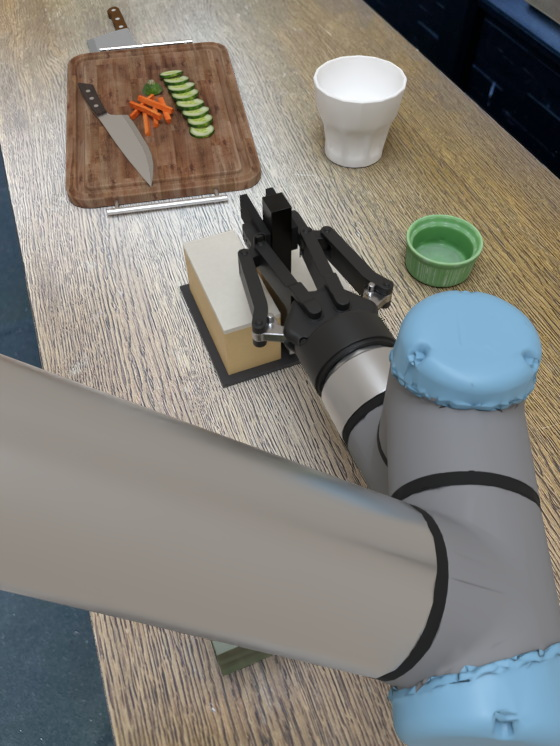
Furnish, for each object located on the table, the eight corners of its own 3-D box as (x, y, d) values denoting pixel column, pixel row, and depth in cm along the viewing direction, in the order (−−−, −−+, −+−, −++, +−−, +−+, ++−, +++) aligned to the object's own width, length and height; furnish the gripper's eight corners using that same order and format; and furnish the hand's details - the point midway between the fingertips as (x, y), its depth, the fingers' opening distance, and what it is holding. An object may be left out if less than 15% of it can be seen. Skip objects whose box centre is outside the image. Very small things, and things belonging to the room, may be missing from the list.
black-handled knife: (301, 351, 70) (304, 225, 56) (283, 357, 69) (283, 231, 56) (273, 301, 74) (270, 174, 61) (257, 306, 74) (250, 179, 60)
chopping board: (268, 198, 88) (267, 179, 86) (67, 223, 85) (61, 203, 83) (223, 41, 115) (222, 23, 113) (69, 55, 112) (64, 37, 110)
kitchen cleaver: (75, 14, 121) (128, 3, 123) (77, 20, 122) (129, 8, 124) (99, 77, 107) (157, 63, 109) (101, 83, 108) (159, 69, 110)
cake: (359, 344, 72) (366, 295, 66) (223, 388, 68) (217, 341, 62) (302, 254, 81) (303, 204, 75) (179, 289, 78) (170, 239, 72)
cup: (392, 127, 98) (403, 55, 90) (399, 177, 91) (411, 102, 82) (310, 127, 99) (313, 54, 90) (310, 176, 91) (313, 101, 82)
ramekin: (418, 298, 76) (424, 270, 73) (390, 249, 82) (394, 221, 78) (487, 283, 78) (497, 255, 74) (455, 236, 83) (463, 208, 80)
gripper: (273, 431, 52) (188, 250, 66) (436, 375, 56) (323, 214, 69) (271, 374, 46) (178, 188, 60) (454, 316, 50) (327, 152, 63)
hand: (256, 202), depth 65 cm, fingers closed on black-handled knife, 2 cm apart
